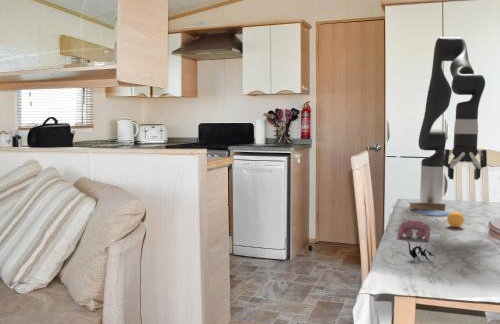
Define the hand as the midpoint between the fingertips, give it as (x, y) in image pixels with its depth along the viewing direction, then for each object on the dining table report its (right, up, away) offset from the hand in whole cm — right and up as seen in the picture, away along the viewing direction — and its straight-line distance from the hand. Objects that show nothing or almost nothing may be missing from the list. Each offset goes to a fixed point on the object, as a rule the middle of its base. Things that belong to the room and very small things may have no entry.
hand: (463, 179), depth 173 cm
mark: (0, -15, +30) cm, 33 cm away
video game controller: (-21, -19, -11) cm, 31 cm away
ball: (-1, -15, +5) cm, 15 cm away
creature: (-26, -21, -35) cm, 49 cm away
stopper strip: (+1, -14, +38) cm, 40 cm away
